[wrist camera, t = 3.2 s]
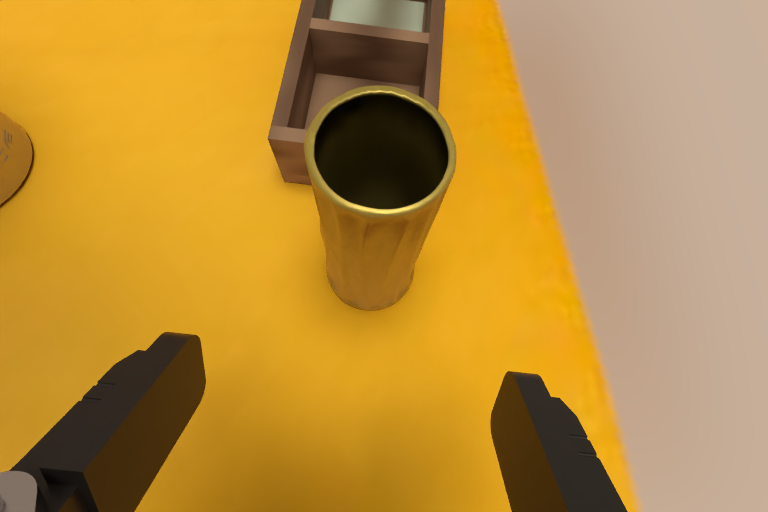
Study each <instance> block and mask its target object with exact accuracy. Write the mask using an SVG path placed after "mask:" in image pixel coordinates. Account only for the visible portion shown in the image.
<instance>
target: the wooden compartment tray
mask: <svg viewBox="0 0 768 512" xmlns="http://www.w3.org/2000/svg"><path fill="white" fill-rule="evenodd" d="M444 12H445V0H302V1H301V5H300V9H299V13H298V17H297V21H296V25H295V29H294V33H293V38H292V42H291V46H290V50H289V54H288V58H287V62H286V66H285V70H284V74H283V78H282V83H281V87H280V91H279V95H278V99H277V103H276V107H275V111H274V115H273V119H272V123H271V128H270V132H269V136H268V140H269V143H270V146H271V148H272V151H273V153H274V156H275V158H276V161H277V164H278V166H279V169H280V171H281V174H282V176H283V179H284V181H285V182H293V183H301V184H309V185H312V183H311V179H310V176H309V173H308V169H307V165H306V160H305V153H304V141H305V137H306V133H307V130H308V128H309V127H310V125H311V123H312V121H313V119H314V118H315V116H316V115H317V113H318V112H319V111H320V110H321V108H322V107H323V106H325V105H326V104H327V103H328V102H330V101H331V100H332V99H334V98H335V97H337V96H339V95H341V94H343V93H345V92H348V91H350V90H353V89H356V88H359V87H365V86H375V85H379V86H392V87H396V88H400V89H403V90H405V91H408V92H410V93H413V94H415V95H417V96H419V97H421V98H423V99H425V100H426V101H428V102H429V103H430V104H431V105H433V106H434V107H435V108H436V109H437V111H438V104H439V89H440V73H441V58H442V43H443V27H444Z"/></svg>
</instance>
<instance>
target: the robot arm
mask: <svg viewBox="0 0 768 512" xmlns="http://www.w3.org/2000/svg"><path fill="white" fill-rule="evenodd" d="M31 162H32V146H31V141H30V139H29V137H28V135H27V134H26V132H25V131H24V130H23V129H22V128H21V127H20V126H19V125H18V124H17V123H16V122H14V121H13V120H11V119H10V118H9V117H7V116H6V115H5V114H3V113H2V112H1V111H0V204H2V203H3V202H4V201H6V200H7V199H8V198H9V197H10V196H11V195H12V194H13V193H14V192H15V191H16V190H17V189H18V188H19V187H20V185H21V184H22V182H23V180H24V179H25V177H26V176H27V174H28V171H29V168H30V165H31ZM205 384H206V378H205V370H204V363H203V356H202V348H201V342H200V338H199V337H198V336H197V335H191V334H182V333H173V332H165V333H163V334H161V335H160V336H159V337H158V338H157V339H156V341H155V342H154V343H153V344H152V345H151V346H150V347H149V348H148V349H147V350H146V351H141V350H138V351H136V352H134V353H133V354H131V355H129V356H128V357H126V358H124V359H123V360H121V361H119V362H118V363H116V364H115V365H114V366H113V367H112V368H111V369H110V370H109V371H108V372H107V373H106V374H105V375H104V376H103V377H102V378H101V379H100V380H99V381H98V384H97V385H96V386H93V387H92V388H91V389H90V390H89V391H88V392H87V393H86V394H85V395H84V396H83V399H82V401H78V402H77V403H76V404H75V405H74V406H73V407H72V408H71V409H70V410H69V411H68V412H67V414H66V415H65V416H64V417H63V418H62V419H61V420H60V421H59V422H58V423H57V424H56V425H55V426H54V427H53V428H52V429H51V430H50V431H49V432H48V433H47V434H46V435H45V436H44V437H43V438H42V439H41V440H40V441H39V442H38V443H37V444H36V445H35V446H34V447H33V448H32V449H31V450H30V451H29V452H28V453H27V454H26V455H25V456H24V457H23V458H22V459H21V460H20V461H19V462H18V463H17V464H16V465H15V466H14V467H13V468H12V469H11V470H9V471H6V472H1V473H0V512H134V511H135V510H136V508H137V506H138V505H139V503H140V501H141V500H142V498H143V496H144V495H145V493H146V491H147V490H148V488H149V486H150V485H151V483H152V481H153V480H154V478H155V476H156V475H157V473H158V472H159V470H160V468H161V467H162V465H163V463H164V462H165V460H166V458H167V457H168V455H169V453H170V452H171V450H172V448H173V447H174V445H175V443H176V442H177V440H178V438H179V437H180V435H181V433H182V432H183V430H184V429H185V427H186V425H187V424H188V422H189V420H190V419H191V417H192V415H193V414H194V412H195V410H196V409H197V407H198V405H199V404H200V402H201V399H202V397H203V394H204V390H205ZM491 434H492V439H493V443H494V446H495V450H496V454H497V458H498V461H499V465H500V469H501V473H502V477H503V480H504V484H505V488H506V492H507V495H508V499H509V503H510V507H511V510H512V512H627V510H626V508H625V506H624V504H623V502H622V500H621V499H620V497H619V495H618V493H617V491H616V489H615V487H614V485H613V484H612V482H611V480H610V478H609V476H608V474H607V472H606V470H605V469H604V467H603V465H602V463H601V461H600V459H599V458H597V457H596V452H595V450H594V448H593V446H592V444H591V442H590V441H589V440H587V435H586V433H585V431H584V429H583V427H582V425H581V424H580V422H579V420H578V418H577V416H576V415H575V414H574V413H573V412H572V411H571V410H570V409H569V408H568V407H567V405H566V404H565V403H564V402H563V401H562V400H561V399H560V398H555V397H551V396H550V394H549V392H548V390H547V388H546V386H545V384H544V382H543V380H542V378H541V377H540V376H539V375H537V374H529V373H520V372H511V371H508V372H507V373H506V374H505V376H504V379H503V382H502V385H501V387H500V390H499V393H498V396H497V399H496V401H495V404H494V407H493V410H492V414H491Z"/></svg>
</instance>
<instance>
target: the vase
mask: <svg viewBox="0 0 768 512" xmlns="http://www.w3.org/2000/svg"><path fill="white" fill-rule="evenodd" d="M304 153H305V160H306V165H307V169H308V173H309V176H310V179H311V183H312V187H313V191H314V195H315V199H316V204H317V208H318V211H319V215H320V231H321V235H322V238H323V241H324V244H325V248H326V264H327V276H328V279H329V282H330V285H331V287H332V288H333V290H334V291H335V293H336V294H337V295H338V297H339V298H340V299H341V300H343V301H344V302H345V303H347V304H349V305H351V306H353V307H356V308H359V309H364V310H377V309H382V308H385V307H388V306H390V305H392V304H394V303H395V302H397V301H398V300H399V299H400V298H401V297H402V296H403V295H404V294H405V293H406V292H407V290H408V288H409V286H410V284H411V282H412V278H413V272H414V264H415V262H416V260H417V258H418V256H419V254H420V251H421V249H422V246H423V244H424V241H425V239H426V237H427V234H428V232H429V230H430V228H431V225H432V223H433V221H434V219H435V217H436V215H437V212H438V210H439V208H440V205H441V203H442V200H443V198H444V196H445V193H446V191H447V188H448V186H449V184H450V182H451V180H452V177H453V175H454V172H455V165H456V146H455V143H454V140H453V137H452V134H451V131H450V129H449V126H448V124H447V122H446V121H445V119H444V118H443V117H442V115H441V114H440V113H439V112H438V111H437V109H436V108H435V107H434V106H433V105H431V104H430V103H429V102H428V101H426V100H425V99H423V98H421V97H419V96H417V95H415V94H413V93H410V92H408V91H405V90H403V89H400V88H396V87H392V86H379V85H375V86H365V87H359V88H356V89H353V90H350V91H348V92H345V93H343V94H341V95H339V96H337V97H335V98H334V99H332V100H331V101H330V102H328V103H327V104H326V105H325V106H323V107H322V108H321V110H320V111H319V112H318V113H317V115H316V116H315V118H314V119H313V121H312V123H311V125H310V127H309V128H308V130H307V133H306V137H305V141H304Z"/></svg>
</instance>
